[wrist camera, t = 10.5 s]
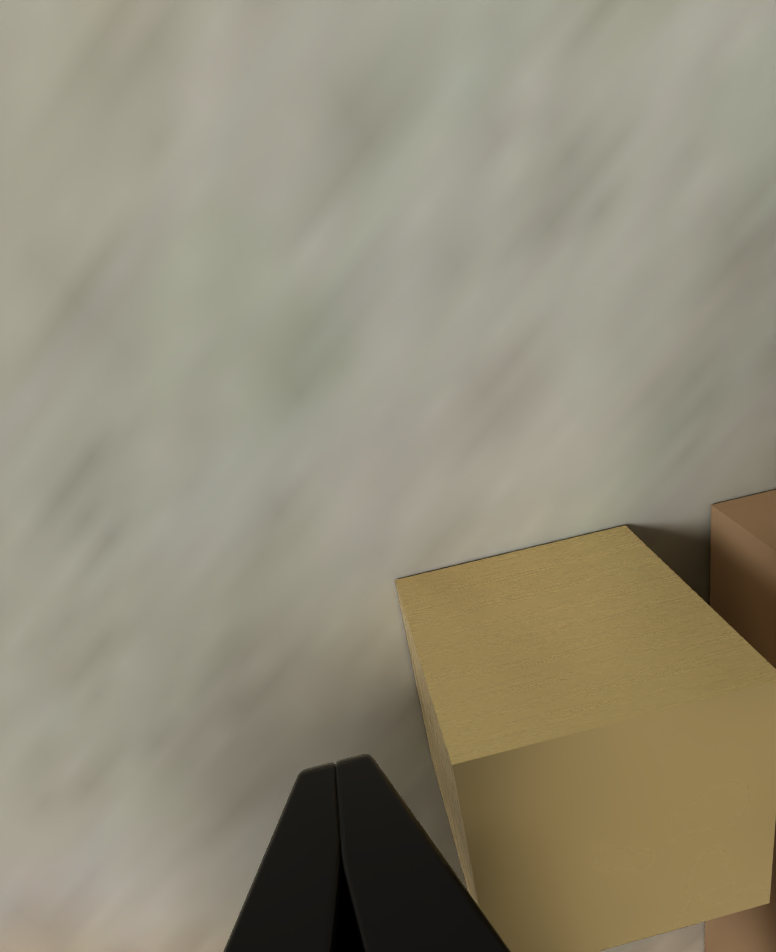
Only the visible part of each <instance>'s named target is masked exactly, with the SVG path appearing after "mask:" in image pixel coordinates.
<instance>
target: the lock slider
mask: <svg viewBox="0 0 776 952" xmlns="http://www.w3.org/2000/svg"><path fill="white" fill-rule="evenodd" d="M395 583H396V588H397V593H398V597H399V602H400V607H401V612H402V617H403V622H404V627H405V632H406V636H407V641H408V646H409V651H410V656H411V661H412V666H413V671H414V676H415V680H416V685H417V690H418V695H419V700H420V705H421V710H422V715H423V719H424V724H425V729H426V734H427V739H428V744H429V749H430V754H431V758H432V762H433V766H434V769H435V773H436V777H437V780H438V784H439V787H440V791H441V795H442V798H443V802H444V806H445V809H446V813H447V816H448V820H449V824H450V827H451V831H452V835H453V838H454V842H455V845H456V849H457V853H458V856H459V860H460V864H461V867H462V871H463V874H464V878H465V882H466V885H467V889H468V892H469V893H470V895H471V896H472V898H473V899H474V900H475V902H476V903H477V905H478V906H479V907H480V909H481V910H482V912H483V913H484V914H485V916H486V917H487V919H488V920H489V921H490V923H491V924H492V926H493V927H494V928H495V930H496V931H497V933H498V934H499V935H500V937H501V938H502V940H503V941H504V943H505V944H506V945H507V947H508V948H509V950H510V951H511V952H598V951H601V950H605V949H608V948H612V947H615V946H619V945H622V944H626V943H629V942H633V941H637V940H640V939H644V938H647V937H651V936H654V935H658V934H661V933H665V932H669V931H672V930H676V929H679V928H683V927H686V926H690V925H693V924H697V923H701V922H704V921H708V920H711V919H715V918H718V917H722V916H725V915H729V914H733V913H736V912H740V911H743V910H747V909H750V908H754V907H757V906H761V905H764V904H768V903H770V890H771V876H772V862H773V848H774V835H775V821H776V669H775V668H774V667H773V666H772V665H771V664H770V663H769V662H768V661H767V660H766V659H765V658H763V657H762V656H761V655H760V654H759V653H758V652H757V651H756V650H755V649H754V648H753V647H752V646H751V645H750V644H749V643H748V642H747V641H746V640H745V639H744V638H743V637H742V636H740V635H739V634H738V633H737V632H736V631H735V630H734V629H733V628H732V627H731V626H730V625H729V624H728V623H727V622H726V621H725V620H724V619H723V618H722V617H721V616H720V615H719V614H717V613H716V612H715V611H714V610H713V609H712V608H711V607H710V606H709V605H708V604H707V603H706V602H705V601H704V600H703V599H702V598H701V597H700V596H699V595H698V594H697V593H696V592H694V591H693V590H692V589H691V588H690V587H689V586H688V585H687V584H686V583H685V582H684V581H683V580H682V579H681V578H680V577H679V576H678V575H677V574H676V573H675V572H674V571H673V570H671V569H670V568H669V567H668V566H667V565H666V564H665V563H664V562H663V561H662V560H661V559H660V558H659V557H658V556H657V555H656V554H655V553H654V552H653V551H652V550H651V549H650V548H648V547H647V546H646V545H645V544H644V543H643V542H642V541H641V540H640V539H639V538H638V537H637V536H636V535H635V534H634V533H633V532H632V531H631V530H630V529H629V528H628V527H627V526H625V525H624V526H620V527H616V528H612V529H608V530H603V531H599V532H595V533H591V534H587V535H582V536H578V537H574V538H570V539H566V540H561V541H557V542H553V543H549V544H545V545H540V546H536V547H532V548H528V549H524V550H519V551H515V552H511V553H507V554H503V555H498V556H494V557H490V558H486V559H482V560H477V561H473V562H469V563H465V564H460V565H456V566H452V567H448V568H444V569H439V570H435V571H431V572H427V573H423V574H418V575H414V576H410V577H406V578H402V579H397V580H395Z"/></svg>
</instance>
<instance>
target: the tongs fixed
mask: <svg viewBox="0 0 776 952" xmlns="http://www.w3.org/2000/svg"><path fill="white" fill-rule="evenodd" d="M710 607H711V608H712V609H713V610H714V611H715V612H716V613H717V614H719V615H720V616H721V617H722V618H723V619H724V620H725V621H726V622H727V623H728V624H729V625H730V626H731V627H732V628H733V629H734V630H735V631H736V632H737V633H738V634H739V635H740V636H742V637H743V638H744V639H745V640H746V641H747V642H748V643H749V644H750V645H751V646H752V647H753V648H754V649H755V650H756V651H757V652H758V653H759V654H760V655H761V656H762V657H763V658H765V659H766V660H767V661H768V662H769V663H770V664H771V665H772V666H773V667H774V668H775V669H776V490H772V491H767V492H763V493H759V494H755V495H751V496H746V497H742V498H738V499H734V500H730V501H725V502H721V503H717V504H713V505H711V557H710ZM705 952H776V821H775V835H774V848H773V862H772V876H771V890H770V903H768V904H764V905H761V906H757V907H754V908H750V909H747V910H743V911H740V912H736V913H733V914H729V915H725V916H722V917H718V918H715V919H711V920H708V921H705Z"/></svg>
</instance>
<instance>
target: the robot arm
mask: <svg viewBox="0 0 776 952" xmlns="http://www.w3.org/2000/svg"><path fill="white" fill-rule="evenodd" d="M224 952H511V951H510V950H509V948H508V947H507V945H506V944H505V943H504V941H503V940H502V938H501V937H500V935H499V934H498V933H497V931H496V930H495V928H494V927H493V926H492V924H491V923H490V921H489V920H488V919H487V917H486V916H485V914H484V913H483V912H482V910H481V909H480V907H479V906H478V905H477V903H476V902H475V900H474V899H473V898H472V896H471V895H470V893H469V892H468V891H467V889H466V888H465V886H464V885H463V884H462V882H461V881H460V879H459V878H458V877H457V875H456V874H455V872H454V871H453V869H452V868H451V867H450V865H449V864H448V862H447V861H446V860H445V858H444V857H443V855H442V854H441V853H440V851H439V850H438V848H437V847H436V846H435V844H434V843H433V841H432V840H431V839H430V837H429V836H428V834H427V833H426V832H425V830H424V829H423V827H422V826H421V825H420V823H419V822H418V820H417V819H416V818H415V816H414V815H413V813H412V812H411V811H410V809H409V808H408V806H407V805H406V804H405V802H404V801H403V799H402V798H401V796H400V795H399V794H398V792H397V791H396V789H395V788H394V787H393V785H392V784H391V782H390V781H389V780H388V778H387V777H386V775H385V774H384V773H383V771H382V770H381V768H380V767H379V766H378V764H377V763H376V761H375V760H374V759H373V757H372V756H370V755H369V754H362V755H358V756H354V757H350V758H346V759H342V760H339V761H337V763H336V764H334V763H327V764H323V765H319V766H316V767H312V768H308V769H305V770H303V771H301V772H300V774H299V775H298V777H297V779H296V782H295V784H294V786H293V789H292V791H291V793H290V796H289V798H288V800H287V803H286V805H285V808H284V810H283V812H282V815H281V817H280V819H279V822H278V824H277V826H276V829H275V831H274V834H273V836H272V838H271V841H270V843H269V845H268V848H267V850H266V852H265V855H264V857H263V860H262V862H261V864H260V867H259V869H258V871H257V874H256V876H255V878H254V881H253V883H252V886H251V888H250V890H249V893H248V895H247V897H246V900H245V902H244V904H243V907H242V909H241V911H240V914H239V916H238V919H237V921H236V923H235V926H234V928H233V930H232V933H231V935H230V937H229V940H228V942H227V945H226V947H225V949H224Z"/></svg>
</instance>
